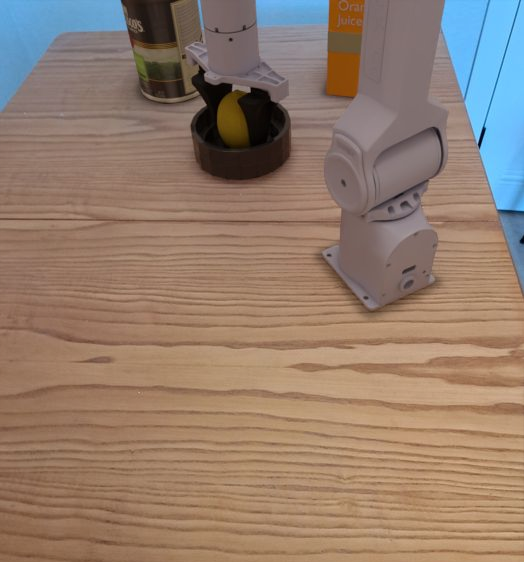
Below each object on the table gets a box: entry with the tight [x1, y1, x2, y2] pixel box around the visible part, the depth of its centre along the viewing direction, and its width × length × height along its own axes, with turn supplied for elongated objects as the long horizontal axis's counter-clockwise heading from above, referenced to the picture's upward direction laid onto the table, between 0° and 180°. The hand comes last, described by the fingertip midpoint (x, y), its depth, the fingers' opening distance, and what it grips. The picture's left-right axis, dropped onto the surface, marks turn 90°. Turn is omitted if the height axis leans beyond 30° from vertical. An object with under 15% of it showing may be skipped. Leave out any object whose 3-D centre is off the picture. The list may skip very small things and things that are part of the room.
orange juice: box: [326, 0, 365, 98], centre depth 75 cm, size 8×9×20 cm
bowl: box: [189, 102, 292, 181], centre depth 72 cm, size 12×12×4 cm
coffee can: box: [120, 0, 204, 104], centre depth 79 cm, size 10×10×14 cm
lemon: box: [217, 88, 251, 149], centre depth 70 cm, size 6×6×8 cm
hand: (241, 136), depth 72 cm, fingers closed on lemon, 5 cm apart
